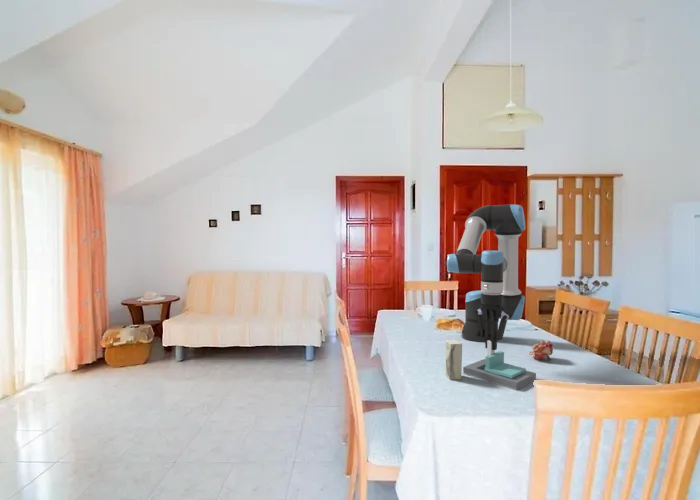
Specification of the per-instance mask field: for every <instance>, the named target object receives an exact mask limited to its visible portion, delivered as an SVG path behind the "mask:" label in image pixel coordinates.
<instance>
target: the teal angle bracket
mask: <svg viewBox="0 0 700 500" xmlns="http://www.w3.org/2000/svg"><path fill="white" fill-rule="evenodd" d="M485 359H486V361H485V371H489V372H492V373H495V374H499V375H502V376H506V377H509V378H514V377H516V376H518V375H520V374H522V373H524V372H526V371H527V368H526V367H521V366H516V365H513V364H510V363H506V362H505V352H504V351H501V350H500V351H498V352H497V351H496V352H495V353H494V354H491V355H489V356H487V355H486V356H485Z"/></svg>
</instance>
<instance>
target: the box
mask: <svg viewBox="0 0 700 500" xmlns="http://www.w3.org/2000/svg"><path fill="white" fill-rule="evenodd" d="M462 359H463V343H461V342H460V341H459V340H458V339H448V340H447V339H446V343H445V376H446V377H447V378H448V379H449V380H450V381H451V380H462V371H463V370H462V368H463V367H462V365H463V364H462V362H463V360H462Z"/></svg>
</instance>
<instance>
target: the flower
mask: <svg viewBox="0 0 700 500" xmlns="http://www.w3.org/2000/svg"><path fill="white" fill-rule="evenodd" d="M531 349H532V350H531V351H529V353H528V355H531V356H532V358H533V359H534V360H542V359H547V360H548V361H549V362H550V361H552V359H551V358H550V356H551V355H552V354H553V353H554V345H553V343H552V342H551V341H550V340H545V341H543V340H541V341H540V342H539V343H534V344H533V345H532V347H531Z"/></svg>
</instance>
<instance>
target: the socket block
mask: <svg viewBox="0 0 700 500" xmlns="http://www.w3.org/2000/svg"><path fill="white" fill-rule="evenodd" d="M485 361H486V358H485V359H484V358H483V359H480V360H478V361H475V362H472V363H470V364H468V365H465V366H463V367H462V368H463V370H462V371H463V373H462V374H464V375H467V376H471V377H473V378H477V379H480V380H483V381H486V382H489V383H493V384H496V385H499V386H502V387H504V388H508V389H511V390H515V391H518V390H519V389H521V388H523V387H525V386H526V385H527V386H528V385H529V384H531V383H533V382H535V381H537V373H536V372H533V371H530V370H526V372H524V373H522V374H520V375H518V376H516V377H514V378H509V377H506V376H502V375H499V374H495V373H492V372H489V371H485ZM534 380H535V381H534Z"/></svg>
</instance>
